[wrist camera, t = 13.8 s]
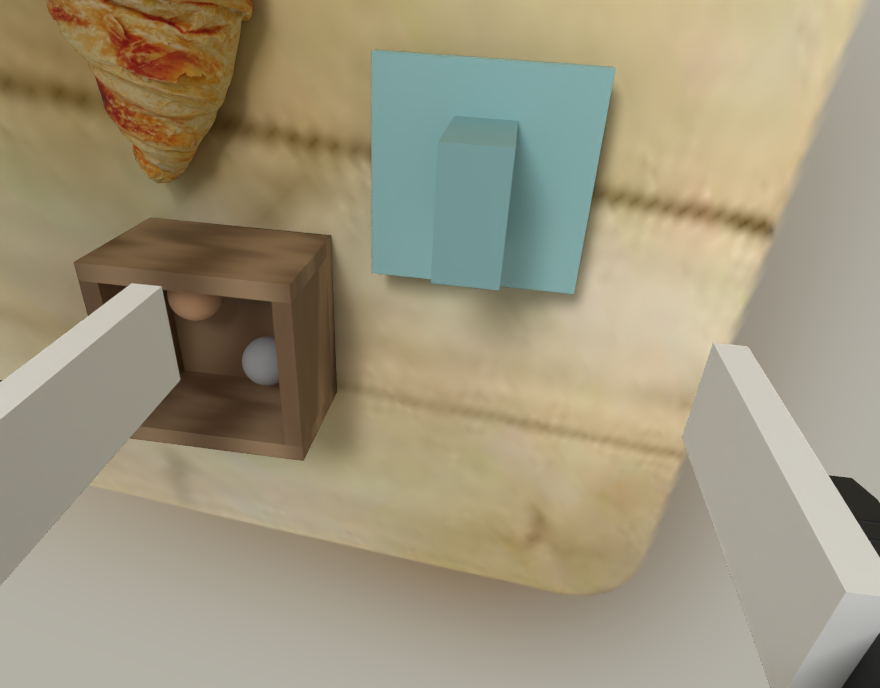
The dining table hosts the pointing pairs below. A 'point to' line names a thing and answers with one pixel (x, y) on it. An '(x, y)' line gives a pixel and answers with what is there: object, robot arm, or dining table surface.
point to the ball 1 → (193, 304)
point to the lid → (484, 167)
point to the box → (232, 330)
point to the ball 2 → (261, 361)
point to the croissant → (158, 69)
